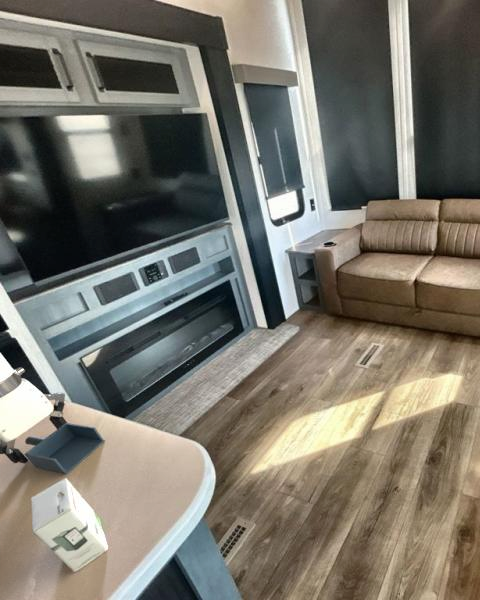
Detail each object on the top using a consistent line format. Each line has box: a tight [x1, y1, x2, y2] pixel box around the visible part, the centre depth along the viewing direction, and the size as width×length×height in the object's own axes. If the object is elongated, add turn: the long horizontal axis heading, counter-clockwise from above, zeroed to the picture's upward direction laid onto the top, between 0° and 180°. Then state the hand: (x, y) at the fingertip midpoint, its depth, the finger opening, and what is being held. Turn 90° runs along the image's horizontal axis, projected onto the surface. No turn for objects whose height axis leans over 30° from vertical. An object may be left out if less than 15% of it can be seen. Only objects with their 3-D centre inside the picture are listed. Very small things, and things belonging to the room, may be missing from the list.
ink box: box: [30, 477, 109, 573], centre depth 60 cm, size 9×5×12 cm, turn 45°
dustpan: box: [23, 422, 106, 475], centre depth 82 cm, size 16×9×4 cm, turn 75°
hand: (44, 444), depth 83 cm, fingers open, 8 cm apart
